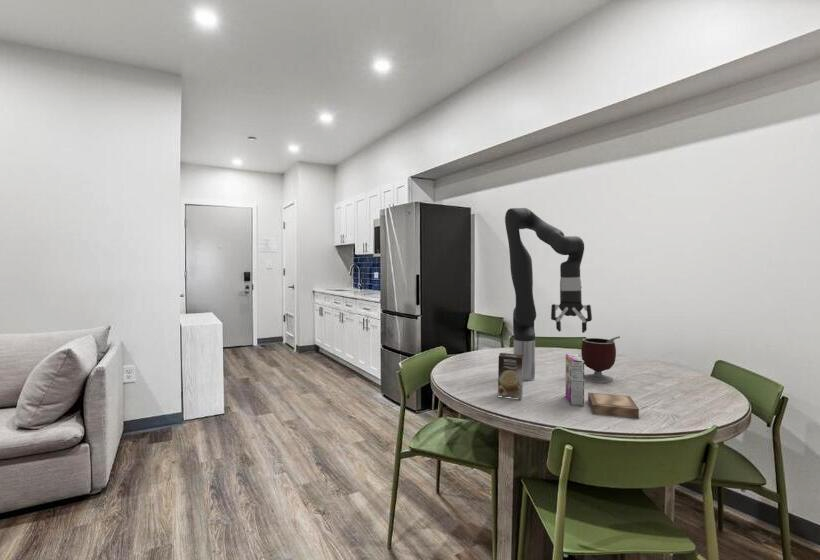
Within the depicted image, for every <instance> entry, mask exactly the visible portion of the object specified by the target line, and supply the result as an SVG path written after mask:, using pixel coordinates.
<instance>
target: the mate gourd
mask: <svg viewBox="0 0 820 560" xmlns="http://www.w3.org/2000/svg"><path fill="white" fill-rule="evenodd" d="M620 338H621V337H620V335H619V336H615V337H612V338H610V339H608V338H599V337H587V338H583V339H582V343H581V348H580V349H581V351H580V354H581V358H582V359H583V361H584V366H585V367H586V368H588V369H591V370H593V371H594V372H593V373H587V374H584V381H587V380H588V381H587V382H590V383H591V382H592V383H596V384H597V383H598V384H610V382H611V383H613V382H614V378H613V377H611V376H609V375H605V374H603V371H607V370H610V369H611V368H612V367H613V366H614V365H615V362H616V358H617V349H616V348H617V347H616V343H615V340H616V339H620Z"/></svg>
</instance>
